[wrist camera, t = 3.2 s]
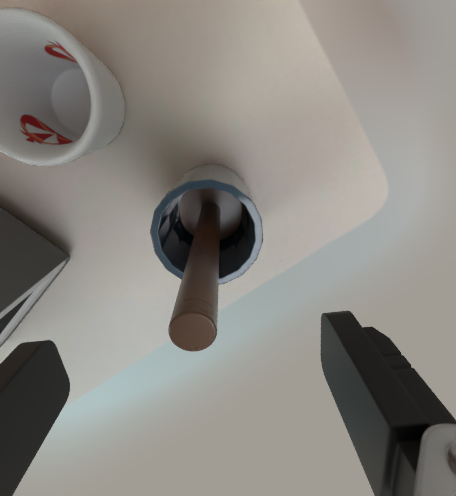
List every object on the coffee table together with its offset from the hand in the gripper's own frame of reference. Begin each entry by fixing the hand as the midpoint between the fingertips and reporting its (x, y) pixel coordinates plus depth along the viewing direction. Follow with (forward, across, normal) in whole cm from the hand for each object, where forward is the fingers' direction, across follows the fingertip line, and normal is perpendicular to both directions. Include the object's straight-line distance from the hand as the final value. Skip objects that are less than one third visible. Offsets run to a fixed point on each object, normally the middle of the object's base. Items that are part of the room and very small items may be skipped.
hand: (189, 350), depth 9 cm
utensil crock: (+20, 0, 0) cm, 20 cm away
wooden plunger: (+19, 0, 0) cm, 19 cm away
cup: (+20, +10, -10) cm, 24 cm away
